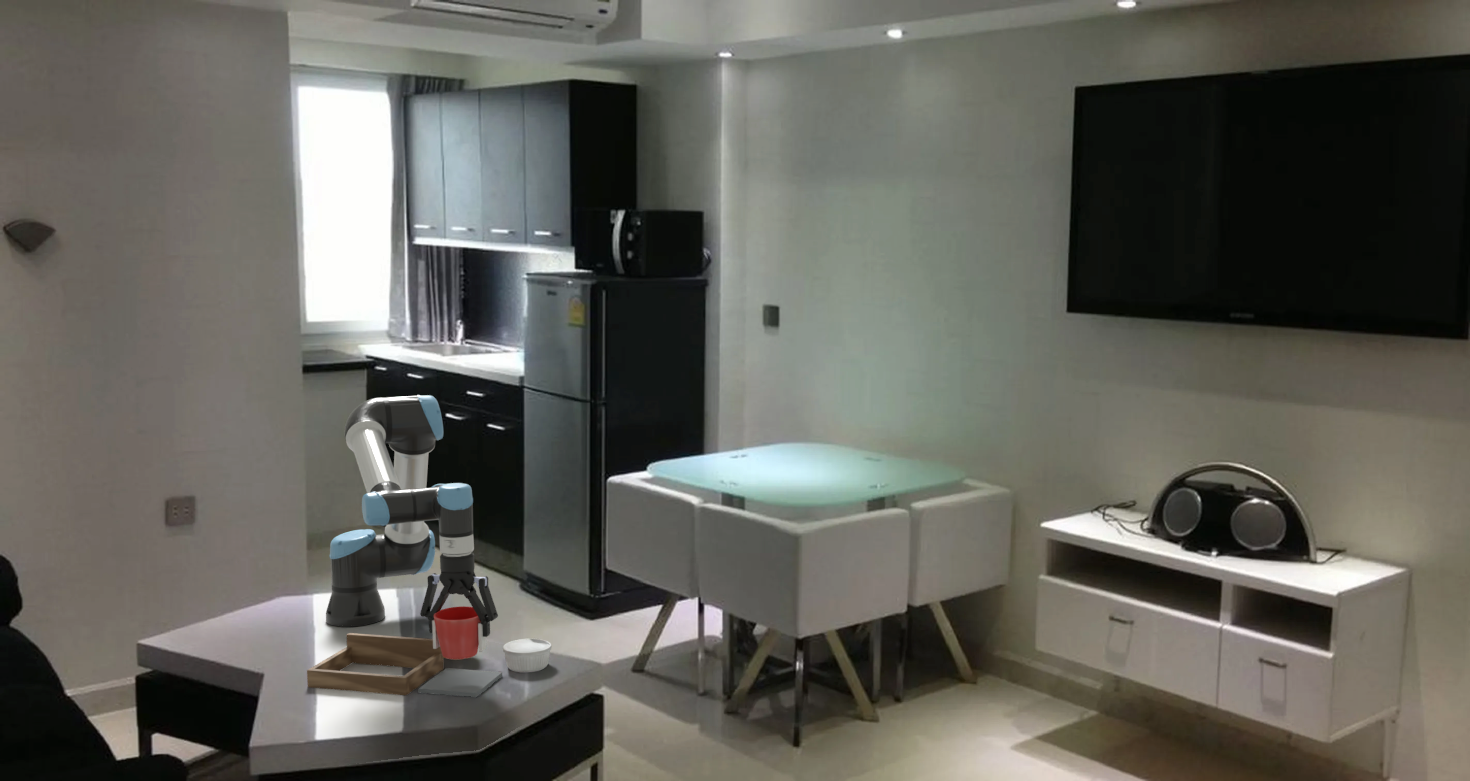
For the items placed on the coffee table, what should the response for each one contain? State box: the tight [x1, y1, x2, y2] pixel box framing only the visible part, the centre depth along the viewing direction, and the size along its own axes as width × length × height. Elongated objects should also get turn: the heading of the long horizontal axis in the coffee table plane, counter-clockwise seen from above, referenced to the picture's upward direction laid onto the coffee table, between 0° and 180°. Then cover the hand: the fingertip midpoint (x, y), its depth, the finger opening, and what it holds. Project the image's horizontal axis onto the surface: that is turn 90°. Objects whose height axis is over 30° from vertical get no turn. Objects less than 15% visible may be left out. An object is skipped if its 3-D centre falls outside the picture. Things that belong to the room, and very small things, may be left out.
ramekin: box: [502, 637, 552, 673], centre depth 299 cm, size 11×11×5 cm
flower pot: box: [434, 605, 481, 661], centre depth 285 cm, size 11×11×10 cm
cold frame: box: [306, 632, 445, 696], centre depth 291 cm, size 18×24×7 cm
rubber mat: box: [417, 667, 503, 698], centre depth 287 cm, size 14×14×1 cm
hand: (460, 648), depth 286 cm, fingers closed on flower pot, 10 cm apart
